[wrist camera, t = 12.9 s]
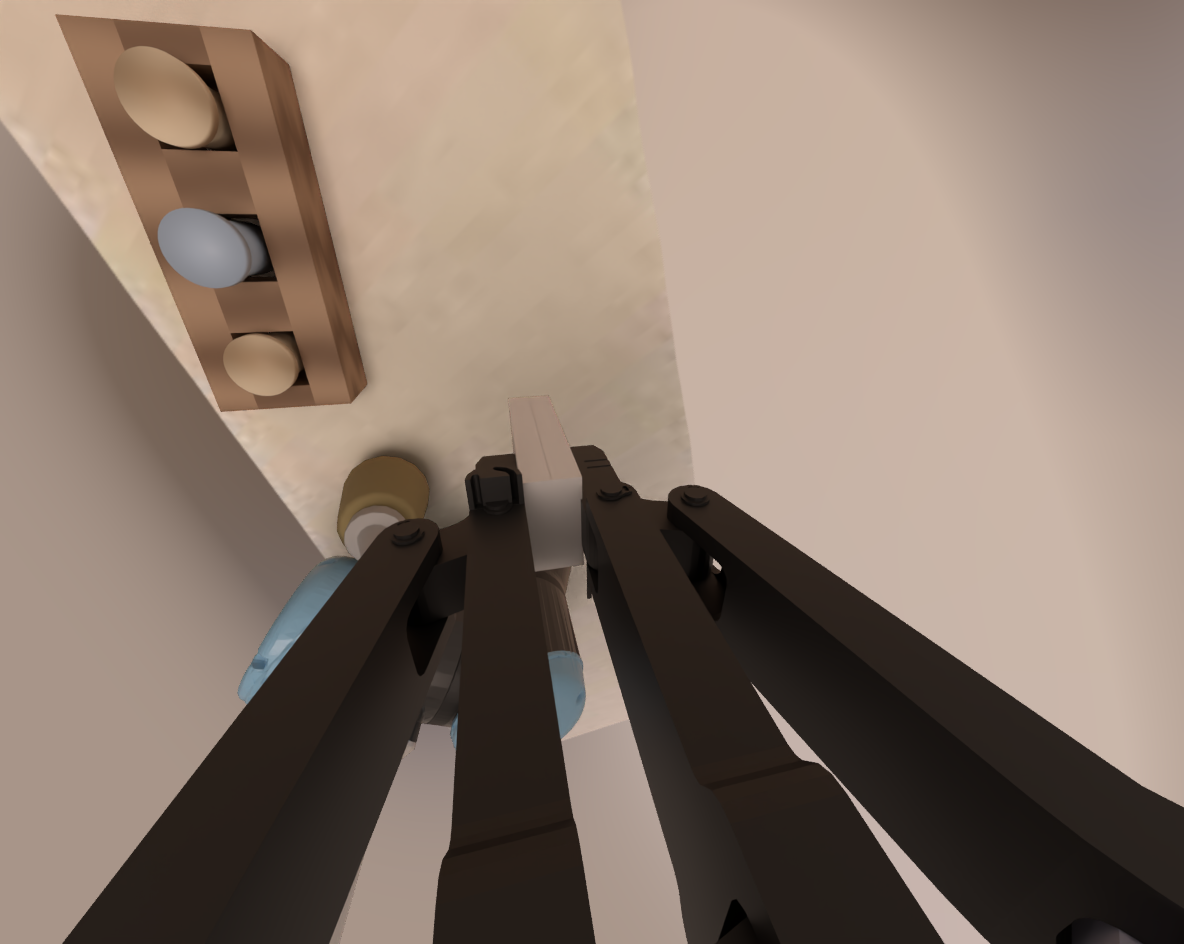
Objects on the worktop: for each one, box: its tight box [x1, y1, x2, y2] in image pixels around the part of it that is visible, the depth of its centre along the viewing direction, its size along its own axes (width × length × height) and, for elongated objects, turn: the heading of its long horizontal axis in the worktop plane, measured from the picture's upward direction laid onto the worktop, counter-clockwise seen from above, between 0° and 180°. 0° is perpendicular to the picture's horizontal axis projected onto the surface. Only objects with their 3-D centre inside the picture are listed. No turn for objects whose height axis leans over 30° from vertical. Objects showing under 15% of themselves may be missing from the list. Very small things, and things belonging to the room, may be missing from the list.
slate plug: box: [158, 208, 274, 288], centre depth 31 cm, size 5×5×7 cm
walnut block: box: [55, 14, 367, 412], centre depth 34 cm, size 24×10×6 cm, turn 1°
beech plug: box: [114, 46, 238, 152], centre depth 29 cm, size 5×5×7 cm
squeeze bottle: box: [337, 456, 430, 560], centre depth 40 cm, size 8×8×18 cm
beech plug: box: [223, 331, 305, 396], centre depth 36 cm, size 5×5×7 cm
